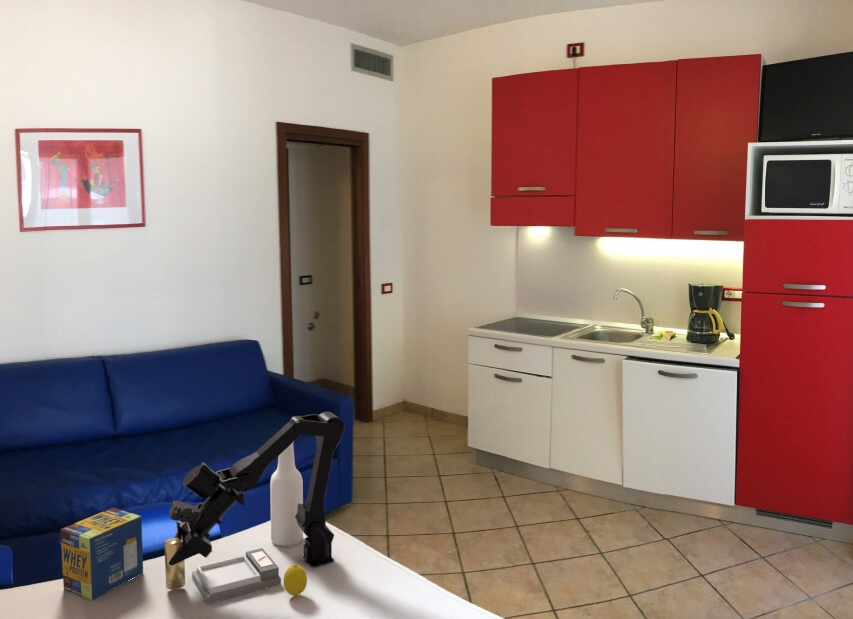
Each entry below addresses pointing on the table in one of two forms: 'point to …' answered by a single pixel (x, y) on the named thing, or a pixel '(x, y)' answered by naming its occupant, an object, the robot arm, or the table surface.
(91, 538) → the protein box
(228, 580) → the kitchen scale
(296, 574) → the lemon
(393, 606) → the table surface
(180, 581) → the cylinder
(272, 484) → the alcohol
